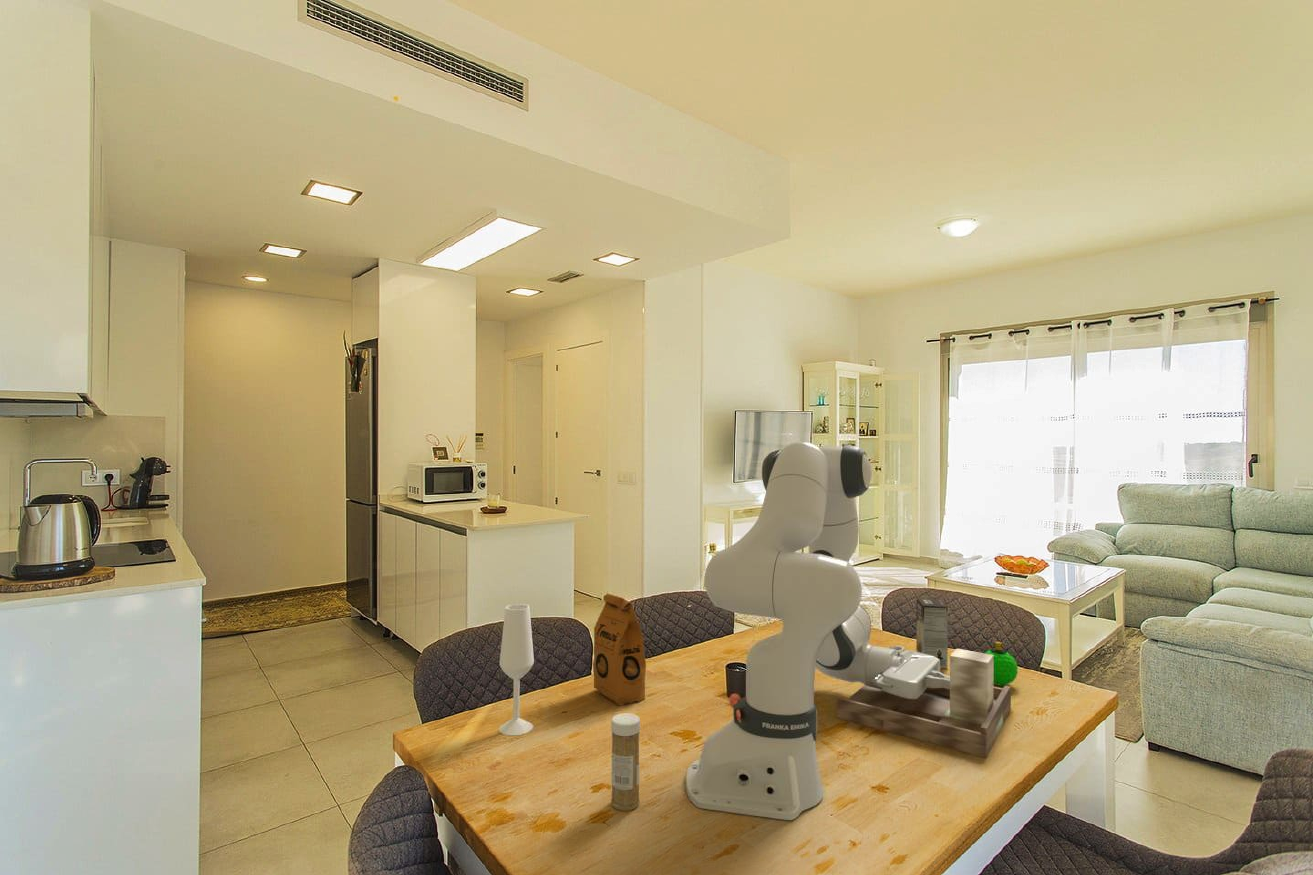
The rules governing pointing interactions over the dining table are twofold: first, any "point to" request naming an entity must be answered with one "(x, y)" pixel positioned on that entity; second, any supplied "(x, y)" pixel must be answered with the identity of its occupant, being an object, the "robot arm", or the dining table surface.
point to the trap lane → (927, 717)
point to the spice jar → (625, 761)
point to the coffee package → (619, 652)
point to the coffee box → (932, 629)
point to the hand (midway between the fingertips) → (952, 683)
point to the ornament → (1003, 666)
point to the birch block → (971, 684)
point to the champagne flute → (516, 659)
